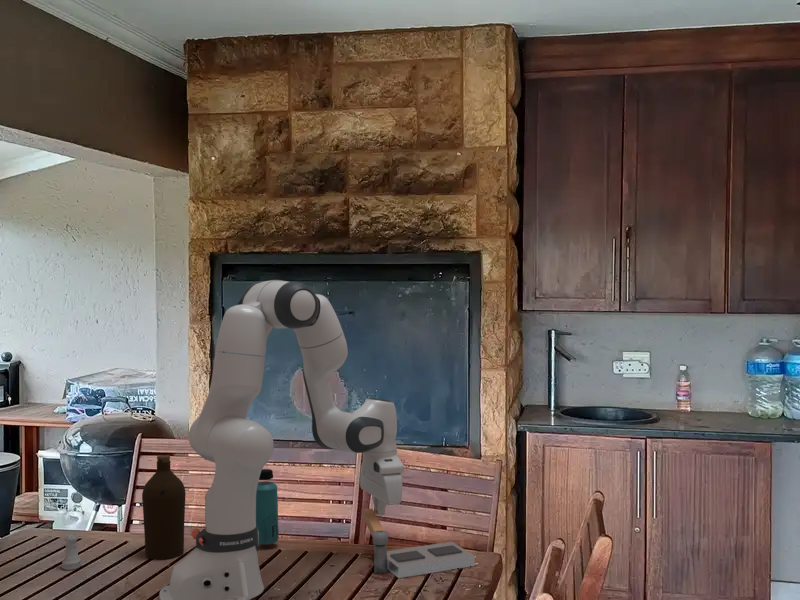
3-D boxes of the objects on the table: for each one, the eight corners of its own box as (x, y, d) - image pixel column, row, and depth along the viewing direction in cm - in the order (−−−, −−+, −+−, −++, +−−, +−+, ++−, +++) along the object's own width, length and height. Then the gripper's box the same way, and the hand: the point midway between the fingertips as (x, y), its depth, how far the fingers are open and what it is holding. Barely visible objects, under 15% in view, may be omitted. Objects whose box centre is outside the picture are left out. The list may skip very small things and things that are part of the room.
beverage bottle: (273, 551, 210) (273, 473, 210) (249, 549, 211) (248, 472, 211) (282, 543, 216) (281, 467, 216) (258, 541, 218) (258, 466, 217)
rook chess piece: (57, 568, 198) (57, 535, 198) (72, 563, 202) (72, 530, 202) (70, 571, 196) (70, 538, 196) (85, 566, 200) (85, 533, 200)
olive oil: (193, 554, 208) (192, 455, 208) (154, 563, 201) (153, 462, 201) (173, 544, 216) (172, 449, 216) (135, 553, 209) (134, 455, 208)
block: (384, 580, 188) (384, 552, 188) (365, 564, 199) (365, 537, 199) (474, 565, 198) (474, 539, 198) (451, 551, 209) (451, 525, 209)
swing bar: (389, 544, 193) (389, 534, 193) (374, 545, 192) (374, 535, 192) (374, 517, 216) (374, 508, 216) (361, 518, 215) (360, 509, 215)
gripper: (354, 454, 219) (354, 505, 219) (383, 469, 201) (383, 525, 201) (376, 452, 222) (375, 503, 222) (406, 467, 203) (406, 522, 203)
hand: (379, 514), depth 211 cm, fingers closed
